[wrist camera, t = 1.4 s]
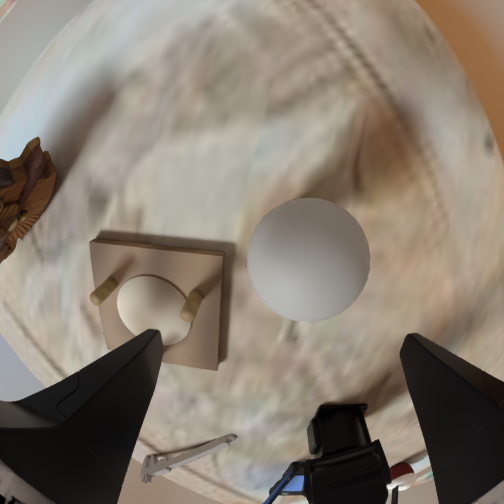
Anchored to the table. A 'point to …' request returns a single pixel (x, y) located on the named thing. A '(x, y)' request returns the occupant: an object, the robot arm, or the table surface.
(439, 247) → the table surface
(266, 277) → the lightbulb
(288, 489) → the handheld game console
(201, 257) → the pin holder
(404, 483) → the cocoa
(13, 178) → the wooden carving
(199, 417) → the table surface
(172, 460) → the caliper
